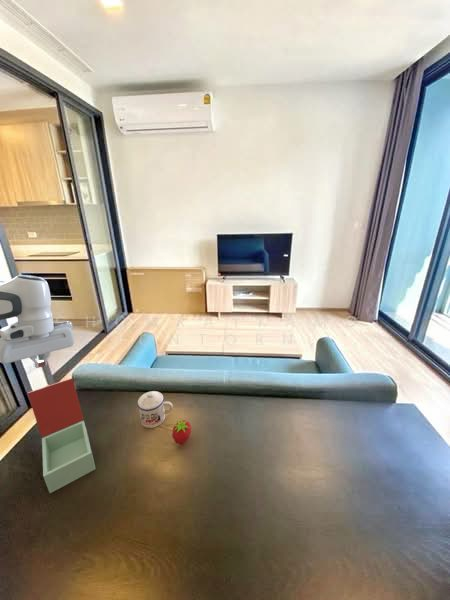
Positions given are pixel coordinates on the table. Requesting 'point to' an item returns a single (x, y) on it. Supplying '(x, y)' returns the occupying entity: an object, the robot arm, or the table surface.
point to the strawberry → (181, 432)
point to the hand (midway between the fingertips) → (41, 366)
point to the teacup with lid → (152, 409)
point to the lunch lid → (55, 406)
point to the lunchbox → (66, 456)
